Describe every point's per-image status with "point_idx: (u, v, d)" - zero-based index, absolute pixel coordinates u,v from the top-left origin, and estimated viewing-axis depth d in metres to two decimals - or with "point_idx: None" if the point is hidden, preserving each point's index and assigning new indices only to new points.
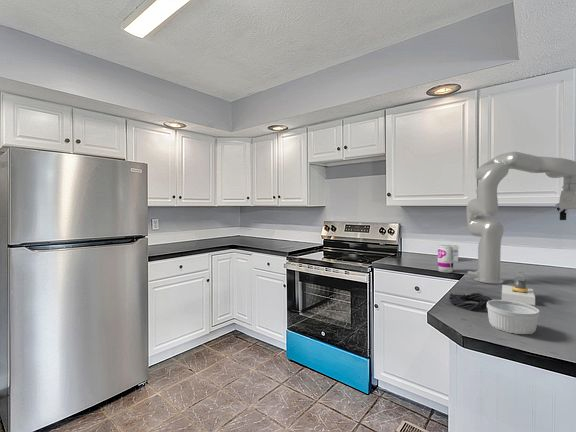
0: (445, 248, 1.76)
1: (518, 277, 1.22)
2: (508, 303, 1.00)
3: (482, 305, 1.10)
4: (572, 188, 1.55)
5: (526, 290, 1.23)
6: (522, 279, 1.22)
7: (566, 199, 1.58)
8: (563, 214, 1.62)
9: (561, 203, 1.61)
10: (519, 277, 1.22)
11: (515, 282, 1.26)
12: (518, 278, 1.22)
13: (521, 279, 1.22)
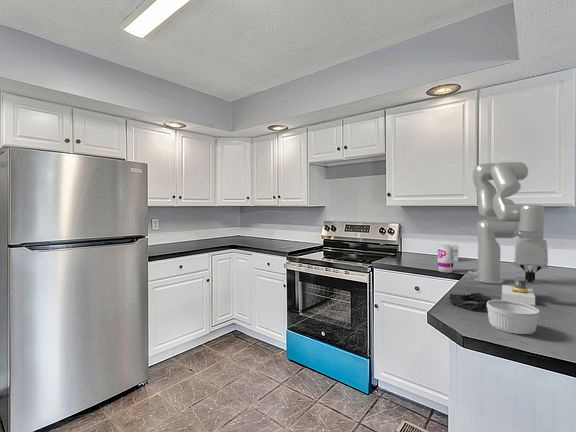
0: (445, 248, 1.76)
1: (518, 277, 1.22)
2: (508, 303, 1.00)
3: (482, 305, 1.10)
4: (539, 239, 1.17)
5: (526, 290, 1.23)
6: (522, 279, 1.22)
7: (529, 252, 1.19)
8: None
9: (520, 256, 1.21)
10: (519, 277, 1.22)
11: (515, 282, 1.26)
12: (518, 278, 1.22)
13: (521, 279, 1.22)
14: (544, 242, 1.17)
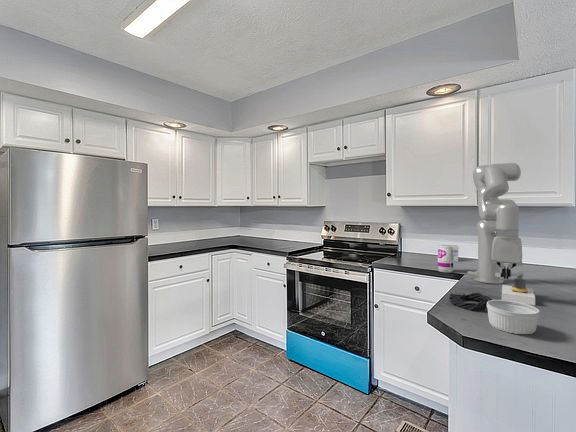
0: (445, 248, 1.76)
1: (496, 273, 1.29)
2: (508, 303, 1.00)
3: (482, 305, 1.09)
4: (513, 237, 1.22)
5: (526, 290, 1.23)
6: (499, 275, 1.28)
7: (504, 249, 1.24)
8: None
9: (496, 254, 1.25)
10: (497, 273, 1.29)
11: (515, 282, 1.26)
12: (496, 274, 1.29)
13: (498, 275, 1.28)
14: (518, 240, 1.21)
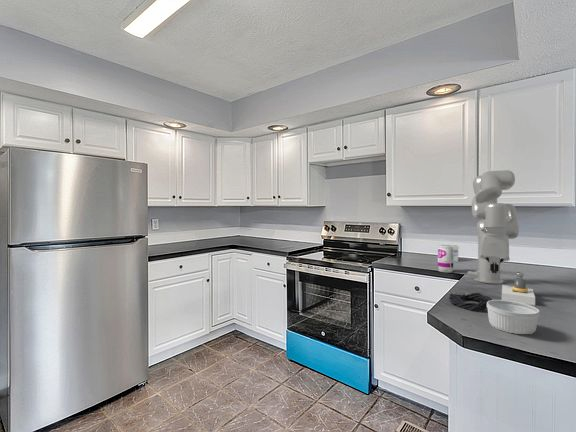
0: (445, 248, 1.76)
1: (488, 269, 1.39)
2: (508, 303, 1.00)
3: (482, 305, 1.09)
4: (501, 234, 1.30)
5: (526, 290, 1.23)
6: None
7: (493, 245, 1.32)
8: (494, 265, 1.34)
9: (485, 250, 1.34)
10: (488, 269, 1.38)
11: (515, 282, 1.26)
12: None
13: None
14: (506, 237, 1.30)
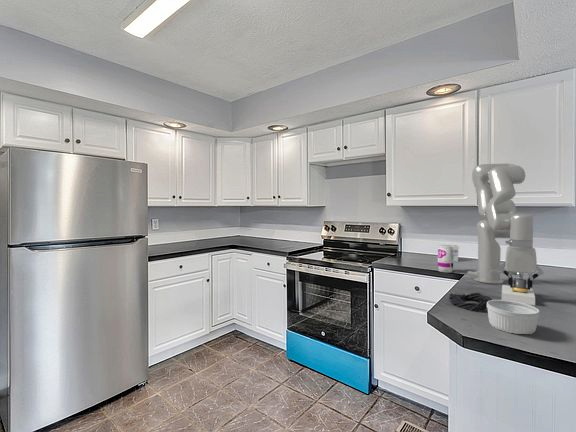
0: (445, 248, 1.76)
1: None
2: (508, 303, 1.00)
3: (483, 305, 1.09)
4: (528, 247, 1.22)
5: (526, 290, 1.23)
6: None
7: (518, 260, 1.24)
8: (512, 279, 1.27)
9: (510, 264, 1.25)
10: (489, 269, 1.39)
11: (515, 282, 1.26)
12: None
13: None
14: (533, 250, 1.21)
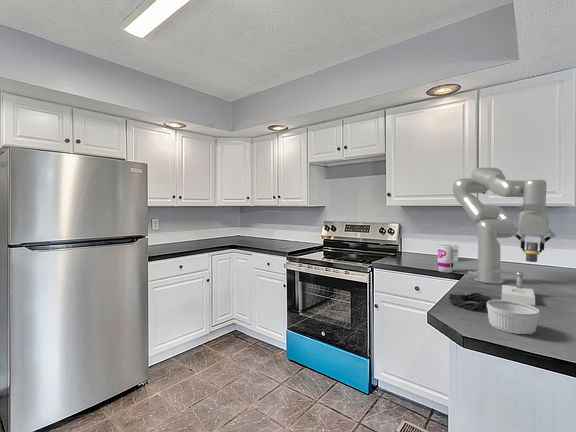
0: (445, 248, 1.76)
1: None
2: (508, 303, 1.00)
3: (483, 305, 1.09)
4: (540, 211, 1.26)
5: (538, 252, 1.28)
6: None
7: (531, 223, 1.28)
8: (524, 243, 1.32)
9: (523, 228, 1.30)
10: (489, 269, 1.39)
11: (527, 245, 1.31)
12: None
13: None
14: (545, 214, 1.26)
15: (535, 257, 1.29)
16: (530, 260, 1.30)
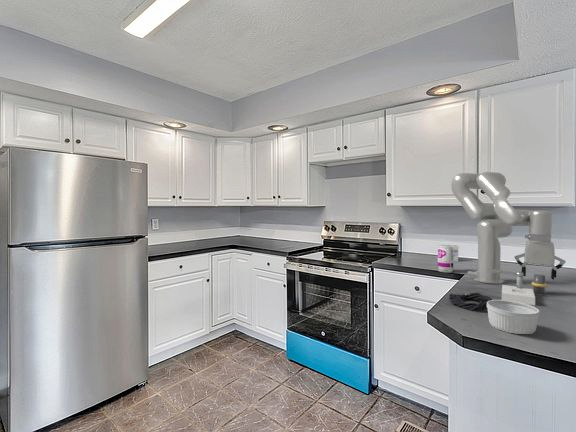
0: (445, 248, 1.76)
1: None
2: (508, 303, 1.00)
3: (483, 305, 1.09)
4: (547, 241, 1.30)
5: (545, 285, 1.31)
6: None
7: (537, 253, 1.32)
8: (525, 269, 1.37)
9: (529, 257, 1.33)
10: (489, 269, 1.39)
11: (535, 278, 1.34)
12: None
13: None
14: (551, 244, 1.29)
15: (543, 290, 1.32)
16: (538, 292, 1.32)
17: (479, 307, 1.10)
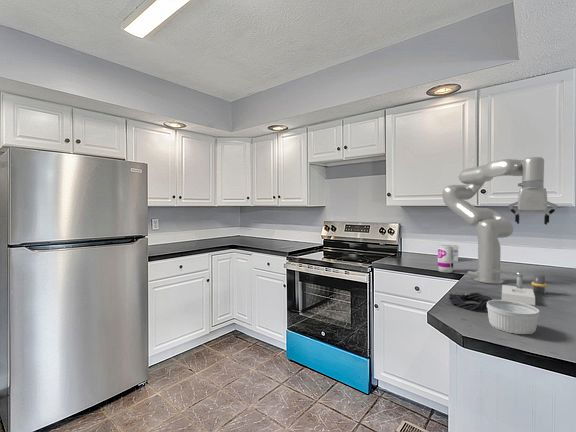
0: (445, 248, 1.76)
1: None
2: (508, 303, 1.00)
3: (483, 305, 1.09)
4: (539, 187, 1.32)
5: (545, 285, 1.31)
6: None
7: (530, 199, 1.34)
8: None
9: (523, 204, 1.35)
10: (489, 269, 1.39)
11: (534, 278, 1.34)
12: None
13: None
14: (544, 189, 1.31)
15: (543, 290, 1.32)
16: (538, 292, 1.32)
17: (479, 307, 1.10)
